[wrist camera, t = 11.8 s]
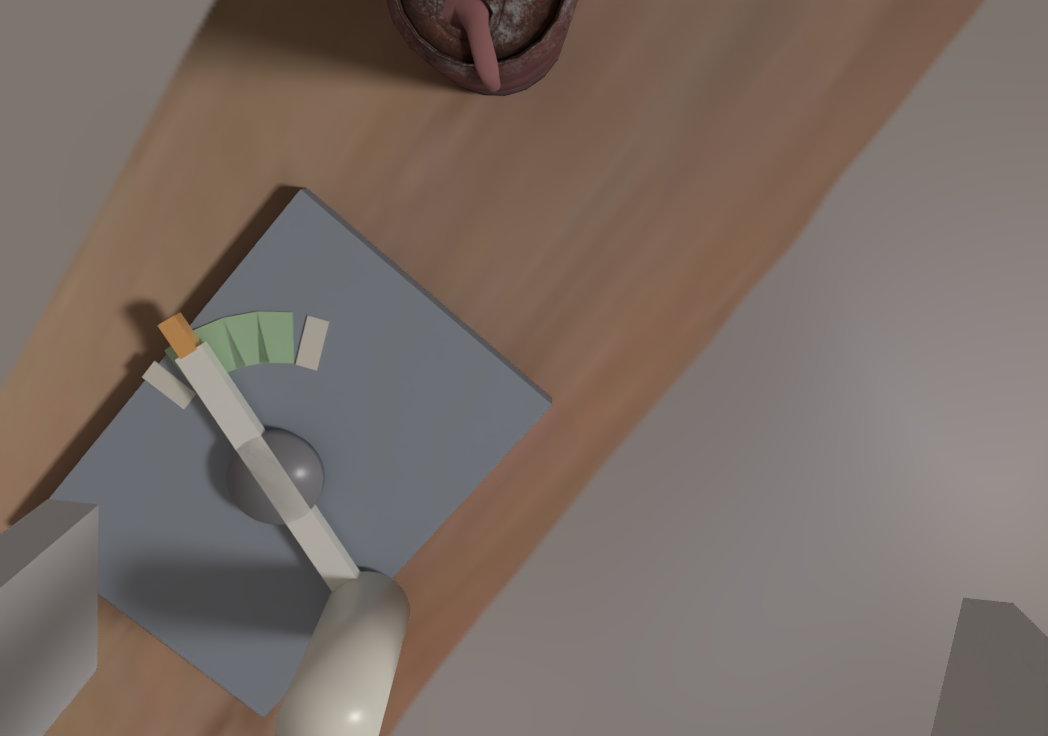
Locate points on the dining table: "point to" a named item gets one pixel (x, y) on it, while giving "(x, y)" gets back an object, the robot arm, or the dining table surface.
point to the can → (486, 39)
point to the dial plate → (318, 417)
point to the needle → (357, 597)
